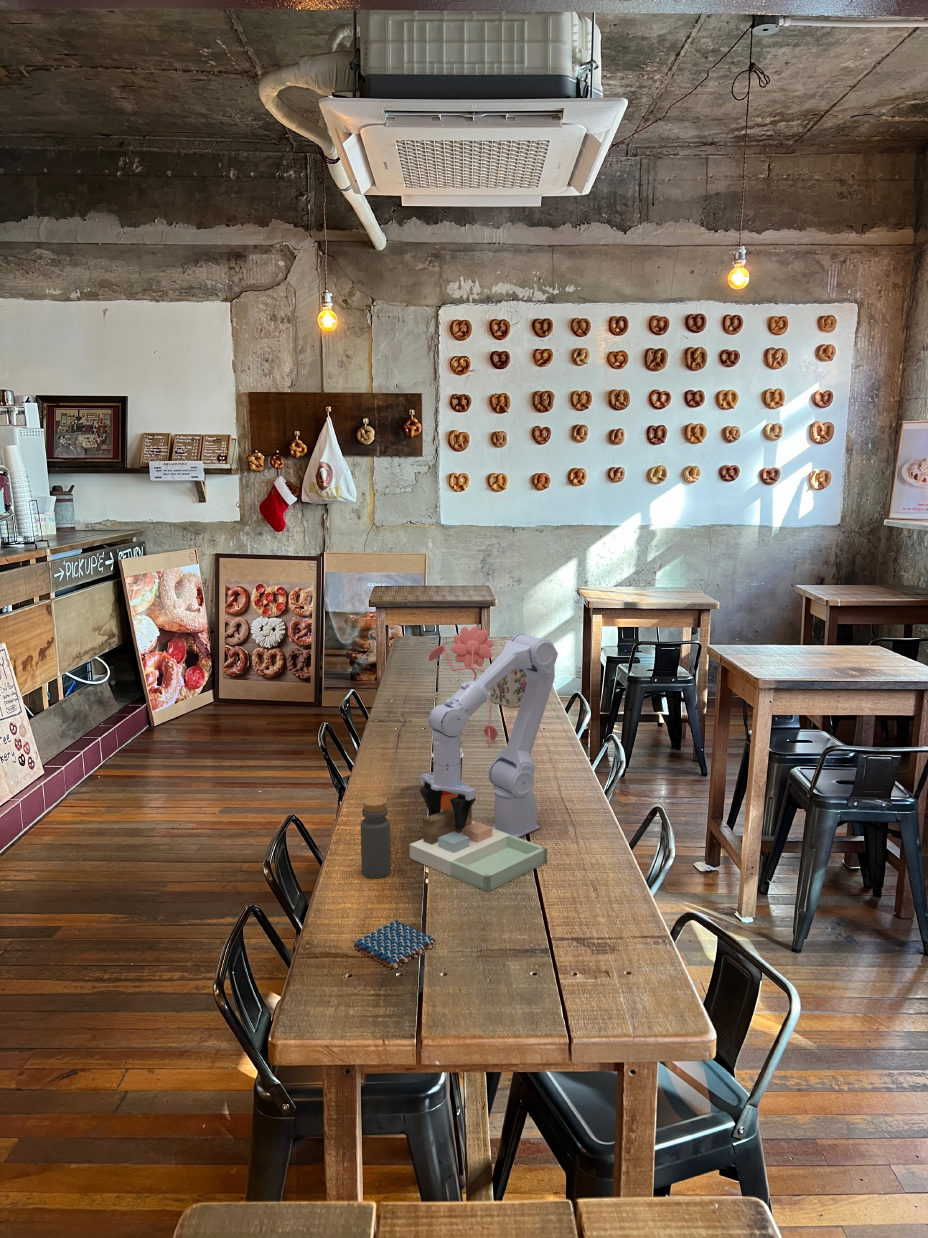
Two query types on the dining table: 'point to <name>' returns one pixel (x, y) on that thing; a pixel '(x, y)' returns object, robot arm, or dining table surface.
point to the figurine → (470, 658)
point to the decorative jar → (510, 689)
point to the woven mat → (394, 944)
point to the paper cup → (448, 793)
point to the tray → (501, 864)
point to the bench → (442, 857)
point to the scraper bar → (441, 825)
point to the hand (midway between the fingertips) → (447, 823)
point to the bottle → (375, 838)
